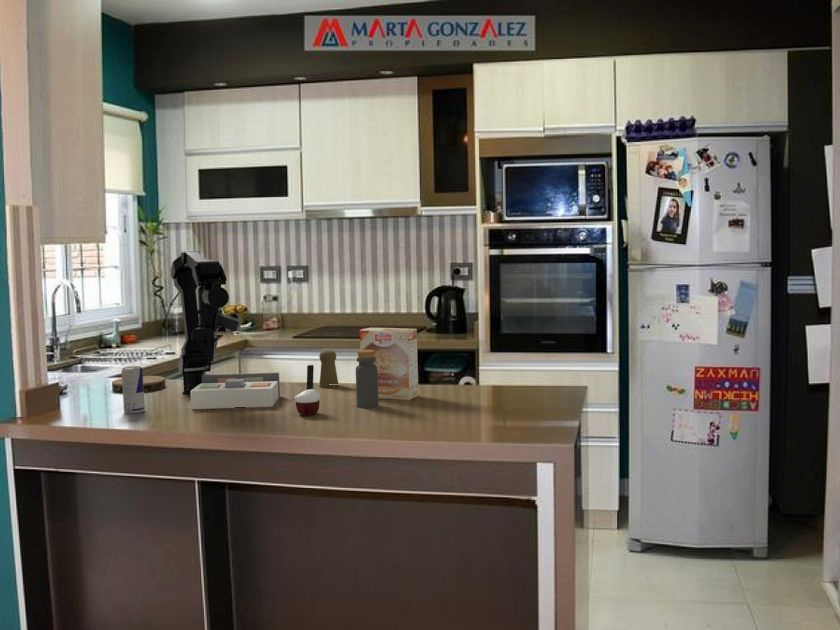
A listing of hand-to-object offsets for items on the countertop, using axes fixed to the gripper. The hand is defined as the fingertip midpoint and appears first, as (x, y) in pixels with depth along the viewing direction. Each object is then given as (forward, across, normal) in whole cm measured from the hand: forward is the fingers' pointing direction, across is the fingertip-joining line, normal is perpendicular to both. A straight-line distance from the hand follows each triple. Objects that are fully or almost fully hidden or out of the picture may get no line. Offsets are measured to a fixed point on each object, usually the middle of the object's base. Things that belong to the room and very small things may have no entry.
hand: (211, 361), depth 234 cm
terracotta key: (+11, -2, -14) cm, 17 cm away
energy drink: (+12, -9, +19) cm, 24 cm away
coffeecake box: (+12, +2, -50) cm, 51 cm away
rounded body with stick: (+12, -18, -29) cm, 36 cm away
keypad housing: (+12, 0, -7) cm, 14 cm away
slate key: (+9, -2, -7) cm, 12 cm away
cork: (+12, +22, -30) cm, 40 cm away
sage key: (+11, -2, 0) cm, 11 cm away
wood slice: (+13, +28, +30) cm, 43 cm away
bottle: (+12, -10, -44) cm, 47 cm away
